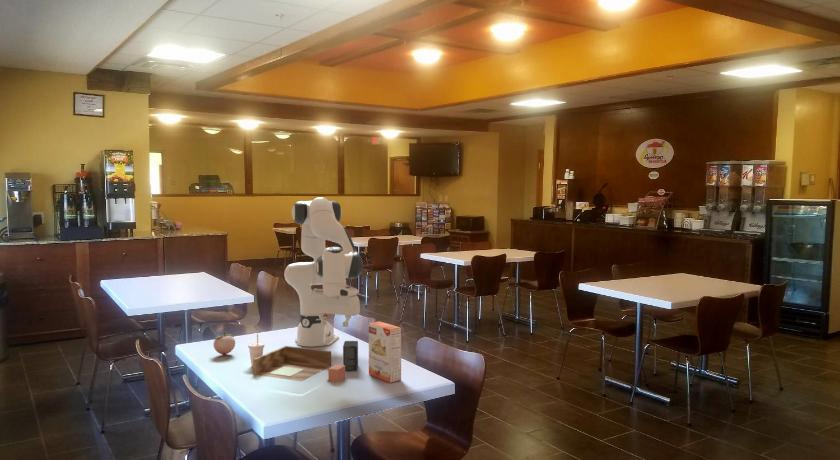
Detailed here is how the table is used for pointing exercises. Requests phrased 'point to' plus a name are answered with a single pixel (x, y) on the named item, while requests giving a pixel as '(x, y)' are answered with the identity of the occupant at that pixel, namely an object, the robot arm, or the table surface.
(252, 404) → the table surface
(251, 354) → the smoothie
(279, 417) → the table surface
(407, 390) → the table surface
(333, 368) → the block
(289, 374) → the pad
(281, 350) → the arena
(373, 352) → the cracker box
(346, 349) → the box
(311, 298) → the robot arm
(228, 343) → the decorative fruit
